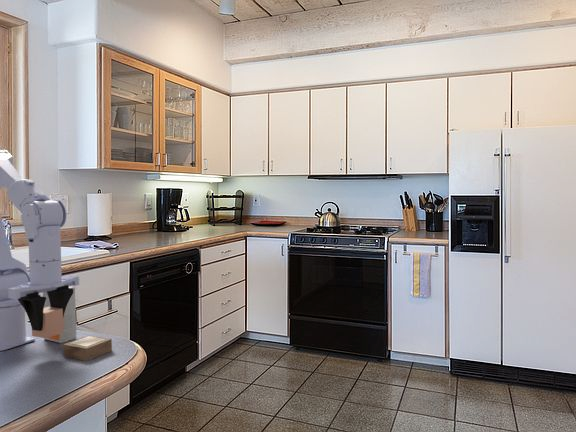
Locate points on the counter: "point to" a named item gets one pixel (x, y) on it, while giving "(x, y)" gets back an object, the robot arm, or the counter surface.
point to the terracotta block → (50, 323)
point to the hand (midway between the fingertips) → (47, 326)
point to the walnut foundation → (87, 347)
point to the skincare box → (65, 320)
